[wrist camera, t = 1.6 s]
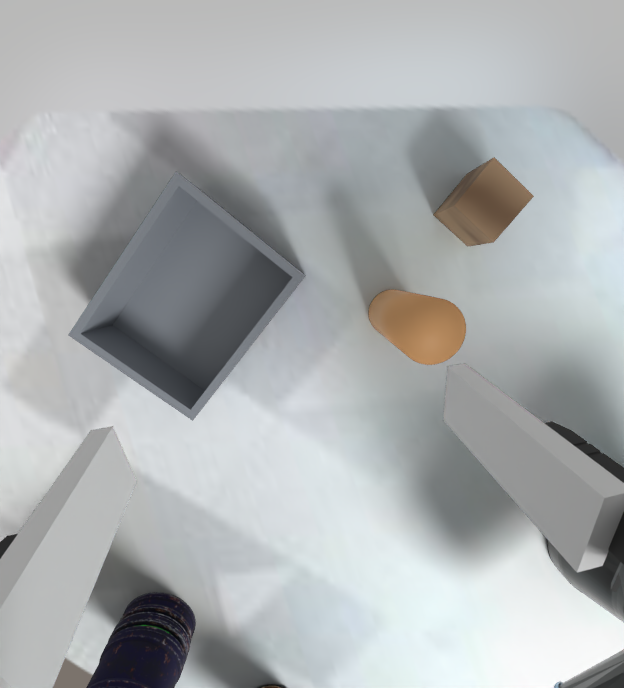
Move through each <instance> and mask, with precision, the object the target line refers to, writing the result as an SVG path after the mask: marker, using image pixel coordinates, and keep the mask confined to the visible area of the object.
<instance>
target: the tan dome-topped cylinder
mask: <svg viewBox="0 0 624 688" xmlns="http://www.w3.org/2000/svg"><path fill="white" fill-rule="evenodd" d="M369 320H370V322H371V324H372V326H373V327H374V328H375V329H376V330H377V331H378V332H379V333H380V334H382V335H383V336H384V337H385V338H386V339H388V340H389V341H390V342H391V343H392V344H394V345H395V346H396V347H397V348H398V349H400V350H401V351H402V352H403V353H404V354H406V355H407V356H408V357H409V358H410V359H412V360H413V361H415V362H418V363H421V364H426V365H432V364H438V363H441V362H444V361H446V360H448V359H449V358H451V357H452V356H453V355H454V354H455V353H456V352H457V351H458V350H459V349H460V347H461V345H462V343H463V341H464V338H465V333H466V324H465V319H464V317H463V314H462V313H461V311H460V310H459V309H458V307H456V306H455V305H454V304H453V303H451V302H449V301H447V300H444V299H440V298H435V297H430V296H425V295H420V294H415V293H410V292H405V291H400V290H393V289H391V290H386V291H383V292H381V293H379V294H378V295H377V296H376V297H375V298H374V299H373V301H372V302H371V304H370V307H369Z"/></svg>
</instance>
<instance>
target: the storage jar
mask: <svg viewBox="0 0 624 688" xmlns="http://www.w3.org/2000/svg"><path fill="white" fill-rule="evenodd" d="M195 625H196V622H195V616H194V613H193V611H192V610H191V608H190V607H189V606H188V605H187V604H186V603H185V602H184V601H183V600H181V599H179V598H178V597H176V596H173V595H170V594H166V593H148V594H144V595H142V596H139V597H137V598H136V599H134V600H133V601H132V602H131V603H130V604H129V605H128V607H127V609H126V610H125V612H124V614H123V617H122V618H121V620H120V622H119V623H118V625H117V626H116V627H115V629H114V631H113V633H112V635H111V636H110V638H109V641H108V644H107V645H106V647H105V649H104V651H103V653H102V655H101V658H100V663H99V665H98V667H97V669H96V671H95V672H94V674H93V676H92V678H91V680H90V682H89V684H88V686H87V688H174V687H175V684H176V683H177V682H178V680H179V678H180V675H181V672H182V670H183V666H184V664H185V661H186V658H187V655H188V652H189V647H190V643H191V638H192V636H193V633H194V630H195Z"/></svg>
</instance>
